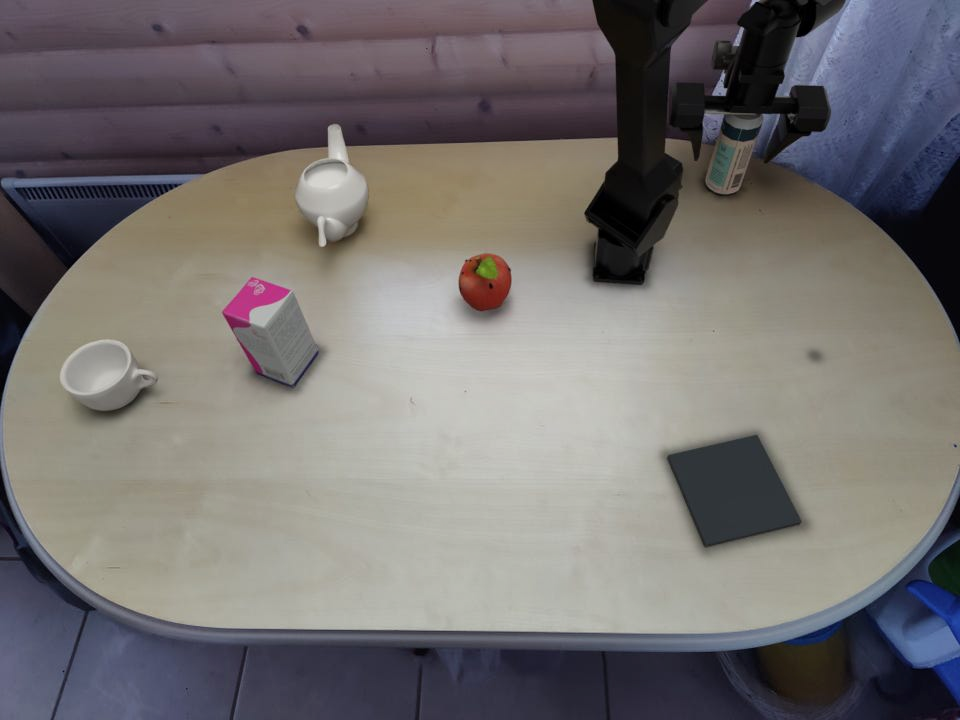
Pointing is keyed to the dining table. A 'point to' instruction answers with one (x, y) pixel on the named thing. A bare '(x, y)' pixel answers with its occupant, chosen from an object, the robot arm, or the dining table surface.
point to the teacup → (104, 375)
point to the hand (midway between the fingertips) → (730, 160)
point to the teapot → (332, 191)
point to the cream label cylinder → (733, 152)
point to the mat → (733, 490)
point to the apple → (485, 281)
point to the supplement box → (271, 331)
